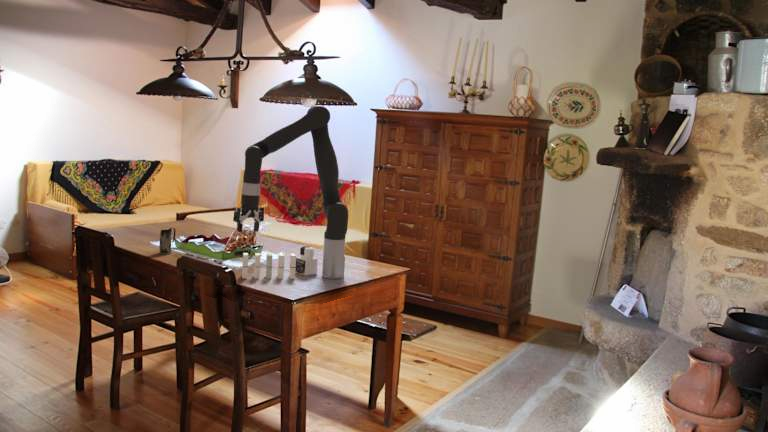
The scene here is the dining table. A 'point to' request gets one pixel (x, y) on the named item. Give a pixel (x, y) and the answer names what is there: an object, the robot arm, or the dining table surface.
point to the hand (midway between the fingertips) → (247, 231)
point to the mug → (166, 241)
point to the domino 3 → (269, 266)
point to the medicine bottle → (306, 262)
